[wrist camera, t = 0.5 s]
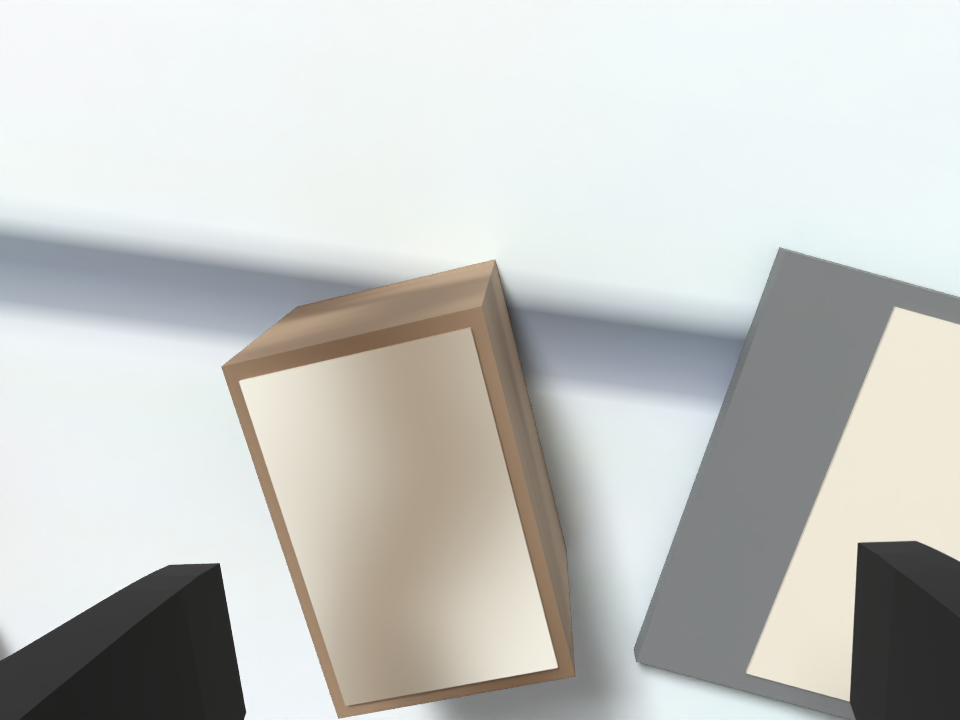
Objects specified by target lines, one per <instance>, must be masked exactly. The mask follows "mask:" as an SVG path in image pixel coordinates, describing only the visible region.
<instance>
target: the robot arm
mask: <svg viewBox="0 0 960 720" xmlns="http://www.w3.org/2000/svg"><path fill="white" fill-rule="evenodd" d="M850 705H851V707H852V710H853V713H854V716H855V719H856V720H960V561H958V560H956V559H954V558H952V557H950V556H948V555H946V554H944V553H942V552H940V551H938V550H936V549H934V548H932V547H930V546H927V545H925V544H923V543H920V542H918V541H891V542H860V543H858V546H857V566H856V586H855V605H854V625H853V645H852V665H851V685H850ZM245 714H246V709H245V704H244V698H243V692H242V687H241V681H240V675H239V670H238V664H237V659H236V653H235V647H234V642H233V636H232V630H231V625H230V619H229V613H228V608H227V602H226V596H225V591H224V585H223V579H222V574H221V568H220V563H214V564H183V565H168V566H166V567H164V568H162V569H159V570H157V571H155V572H153V573H151V574H149V575H147V576H145V577H143V578H141V579H139V580H138V581H136V582H134V583H132V584H130V585H129V586H127V587H125V588H123V589H122V590H120V591H118V592H116V593H115V594H113V595H111V596H110V597H108V598H106V599H104V600H103V601H101V602H99V603H98V604H96V605H94V606H93V607H91V608H89V609H88V610H86V611H84V612H83V613H81V614H79V615H78V616H76V617H74V618H73V619H71V620H69V621H68V622H66V623H64V624H63V625H61V626H59V627H58V628H56V629H54V630H52V631H51V632H49V633H47V634H46V635H44V636H42V637H41V638H39V639H37V640H36V641H34V642H32V643H31V644H29V645H27V646H26V647H24V648H22V649H21V650H19V651H17V652H16V653H14V654H12V655H10V656H9V657H7V658H5V659H3V660H1V661H0V720H244V717H245Z"/></svg>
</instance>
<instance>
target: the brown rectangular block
mask: <svg viewBox="0 0 960 720" xmlns="http://www.w3.org/2000/svg"><path fill="white" fill-rule="evenodd" d="M222 370H223V373H224V376H225V379H226V382H227V385H228V388H229V391H230V394H231V397H232V400H233V403H234V406H235V409H236V412H237V415H238V418H239V421H240V424H241V427H242V430H243V433H244V436H245V439H246V442H247V445H248V448H249V451H250V454H251V457H252V460H253V463H254V466H255V469H256V472H257V475H258V478H259V481H260V484H261V487H262V490H263V493H264V496H265V499H266V502H267V505H268V508H269V511H270V514H271V517H272V520H273V523H274V526H275V529H276V532H277V535H278V538H279V541H280V544H281V547H282V550H283V553H284V556H285V559H286V562H287V565H288V568H289V571H290V574H291V577H292V580H293V583H294V586H295V589H296V593H297V596H298V599H299V602H300V605H301V608H302V611H303V614H304V617H305V620H306V623H307V626H308V629H309V632H310V635H311V638H312V641H313V644H314V647H315V650H316V653H317V656H318V659H319V662H320V665H321V668H322V671H323V674H324V677H325V680H326V683H327V686H328V689H329V692H330V695H331V698H332V701H333V704H334V707H335V710H336V713H337V716H338V719H339V718H345V717H350V716H356V715H361V714H367V713H373V712H378V711H384V710H389V709H395V708H401V707H406V706H412V705H417V704H423V703H429V702H434V701H440V700H445V699H451V698H457V697H462V696H468V695H473V694H479V693H485V692H490V691H496V690H501V689H507V688H513V687H518V686H524V685H530V684H535V683H541V682H546V681H552V680H558V679H563V678H569V677H574V676H575V667H574V653H573V639H572V624H571V610H570V596H569V582H568V567H567V553H566V546H565V542H564V538H563V534H562V530H561V526H560V522H559V518H558V514H557V510H556V506H555V502H554V498H553V493H552V489H551V485H550V481H549V477H548V473H547V469H546V465H545V461H544V457H543V453H542V449H541V445H540V441H539V436H538V432H537V428H536V424H535V420H534V416H533V412H532V408H531V404H530V400H529V396H528V392H527V388H526V384H525V379H524V375H523V371H522V367H521V363H520V359H519V355H518V351H517V347H516V343H515V339H514V335H513V331H512V327H511V322H510V318H509V314H508V310H507V306H506V302H505V298H504V294H503V290H502V286H501V282H500V278H499V274H498V270H497V266H496V261H495V260H491V261H486V262H482V263H478V264H474V265H470V266H466V267H461V268H457V269H453V270H449V271H445V272H440V273H436V274H432V275H428V276H424V277H419V278H415V279H411V280H407V281H403V282H398V283H394V284H390V285H386V286H382V287H378V288H373V289H369V290H365V291H361V292H357V293H352V294H348V295H344V296H340V297H336V298H331V299H327V300H323V301H319V302H315V303H311V304H306V305H302V306H298V307H296V308H295V309H293V310H292V311H291V312H290V313H288V314H287V315H286V316H285V317H283V318H282V319H281V320H280V321H278V322H277V323H276V324H275V325H273V326H272V327H271V328H270V329H268V330H267V331H266V332H264V333H263V334H262V335H261V336H259V337H258V338H257V339H256V340H254V341H253V342H252V343H251V344H249V345H248V346H247V347H246V348H244V349H243V350H242V351H241V352H239V353H238V354H237V355H235V356H234V357H233V358H232V359H230V360H229V361H228V362H227V363H225V364H224V365H223V366H222Z"/></svg>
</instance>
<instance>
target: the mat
mask: <svg viewBox="0 0 960 720" xmlns="http://www.w3.org/2000/svg"><path fill="white" fill-rule="evenodd" d="M891 541H918V542H920V543H923V544H925V545H927V546H930V547H932V548H934V549H936V550H938V551H940V552H942V553H944V554H946V555H948V556H950V557H952V558H954V559H956V560H958V561H960V297H957V296H953V295H950V294H946V293H942V292H939V291H935V290H932V289H928V288H924V287H921V286H917V285H914V284H910V283H906V282H903V281H899V280H895V279H892V278H888V277H885V276H881V275H877V274H874V273H870V272H867V271H863V270H859V269H856V268H852V267H849V266H845V265H841V264H838V263H834V262H831V261H827V260H823V259H820V258H816V257H813V256H809V255H805V254H802V253H798V252H795V251H791V250H787V249H784V248H780V247H779V250H778V253H777V256H776V258H775V261H774V264H773V267H772V269H771V272H770V275H769V278H768V280H767V283H766V286H765V289H764V291H763V294H762V297H761V300H760V302H759V305H758V308H757V311H756V313H755V316H754V319H753V322H752V324H751V327H750V330H749V333H748V335H747V338H746V341H745V344H744V347H743V349H742V352H741V355H740V358H739V360H738V363H737V366H736V369H735V371H734V374H733V377H732V380H731V382H730V385H729V388H728V391H727V393H726V396H725V399H724V402H723V404H722V407H721V410H720V413H719V415H718V418H717V421H716V424H715V426H714V429H713V432H712V435H711V437H710V440H709V443H708V446H707V449H706V451H705V454H704V457H703V460H702V462H701V465H700V468H699V471H698V473H697V476H696V479H695V482H694V484H693V487H692V490H691V493H690V495H689V498H688V501H687V504H686V506H685V509H684V512H683V515H682V517H681V520H680V523H679V526H678V528H677V531H676V534H675V537H674V540H673V542H672V545H671V548H670V551H669V553H668V556H667V559H666V562H665V564H664V567H663V570H662V573H661V575H660V578H659V581H658V584H657V586H656V589H655V592H654V595H653V597H652V600H651V603H650V606H649V608H648V611H647V614H646V617H645V619H644V622H643V625H642V628H641V631H640V633H639V636H638V639H637V642H636V644H635V647H634V654H635V659H636V662H640V663H643V664H647V665H651V666H654V667H658V668H662V669H665V670H669V671H673V672H676V673H680V674H684V675H687V676H691V677H695V678H699V679H702V680H706V681H710V682H713V683H717V684H721V685H724V686H728V687H732V688H735V689H739V690H743V691H746V692H750V693H754V694H758V695H761V696H765V697H769V698H772V699H776V700H780V701H783V702H787V703H791V704H794V705H798V706H802V707H805V708H809V709H813V710H817V711H820V712H824V713H828V714H831V715H835V716H839V717H842V718H846V719H850V720H856V719H855V716H854V713H853V710H852V707H851V705H850V685H851V665H852V645H853V625H854V605H855V586H856V566H857V546H858V543H860V542H891Z"/></svg>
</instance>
